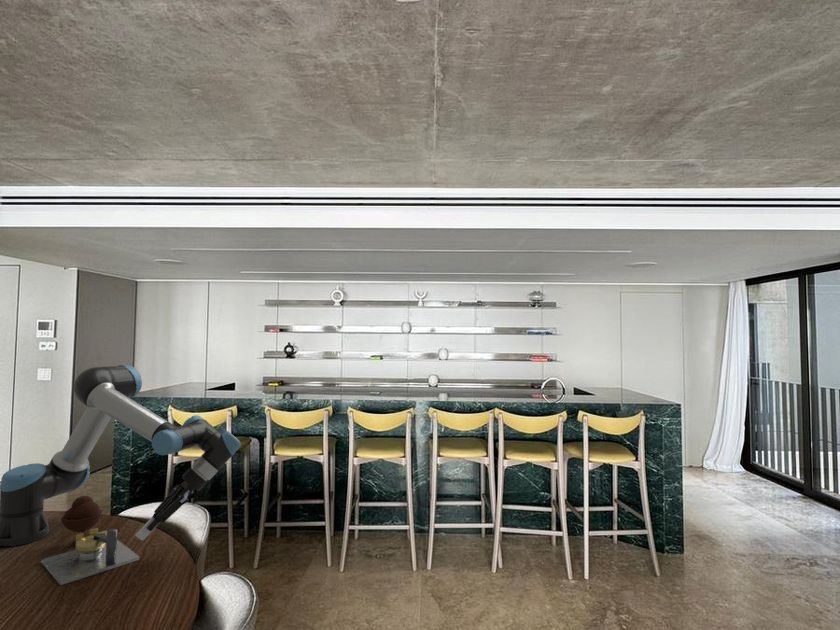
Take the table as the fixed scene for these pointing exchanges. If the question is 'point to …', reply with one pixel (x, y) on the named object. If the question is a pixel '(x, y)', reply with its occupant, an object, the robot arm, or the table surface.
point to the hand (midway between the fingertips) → (138, 537)
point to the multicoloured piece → (98, 543)
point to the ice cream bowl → (81, 515)
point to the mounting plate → (85, 563)
